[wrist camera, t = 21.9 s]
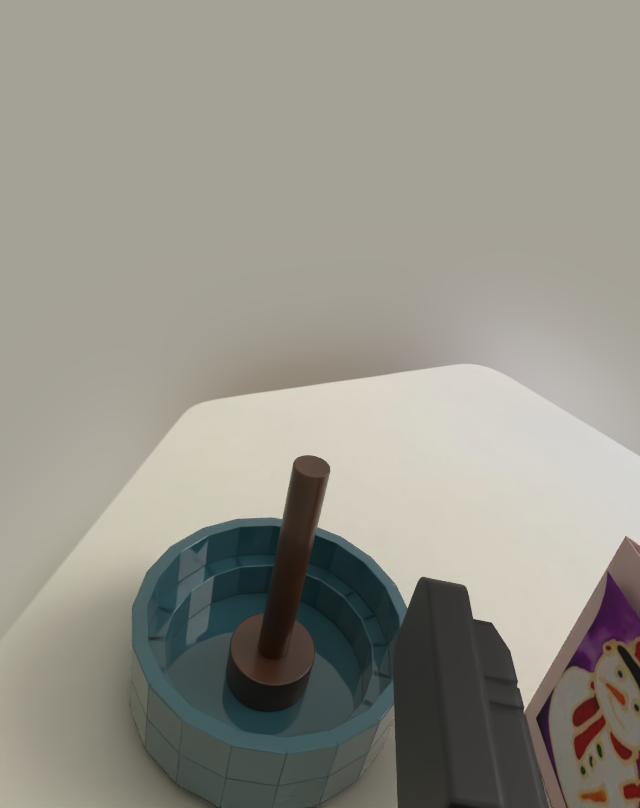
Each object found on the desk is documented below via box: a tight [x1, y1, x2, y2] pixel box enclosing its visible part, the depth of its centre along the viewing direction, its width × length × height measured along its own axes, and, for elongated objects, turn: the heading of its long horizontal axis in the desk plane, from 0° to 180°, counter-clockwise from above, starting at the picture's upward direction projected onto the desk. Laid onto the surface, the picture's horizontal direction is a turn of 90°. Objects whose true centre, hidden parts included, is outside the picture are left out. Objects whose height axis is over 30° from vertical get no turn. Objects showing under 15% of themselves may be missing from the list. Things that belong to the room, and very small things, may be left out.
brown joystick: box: [226, 455, 330, 711], centre depth 31 cm, size 5×5×15 cm
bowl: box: [130, 518, 407, 808], centre depth 34 cm, size 16×16×6 cm
